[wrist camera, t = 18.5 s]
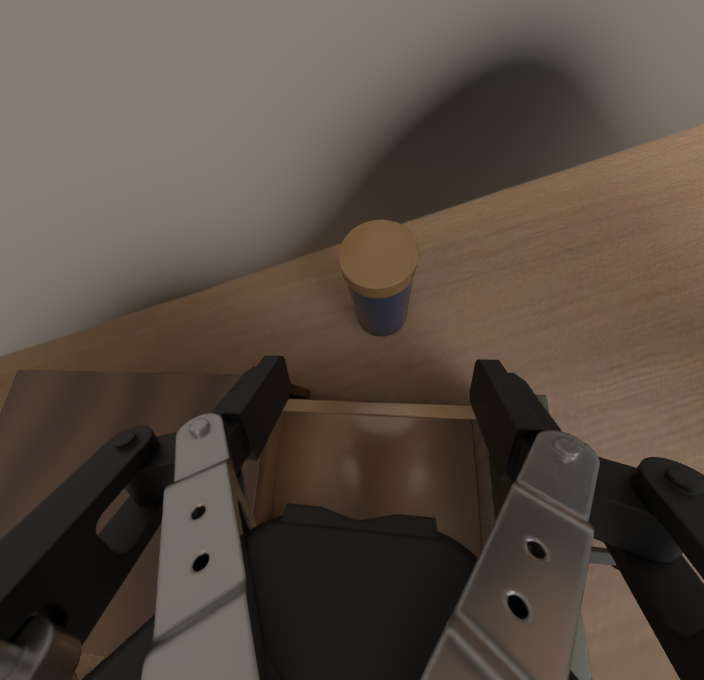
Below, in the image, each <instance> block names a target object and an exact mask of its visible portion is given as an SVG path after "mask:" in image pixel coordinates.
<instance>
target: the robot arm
mask: <svg viewBox="0 0 704 680" xmlns="http://www.w3.org/2000/svg"><path fill="white" fill-rule="evenodd" d="M290 391H291V385H290V380H289V375H288V371H287V366H286V362H285V358H284V357H283V356H265V357H264V358H263V359H262V360H261V361H260V363H259V364H258V365H257V366H256V367H252V368H251V369H249V370H248V371H246V372H245V373H243V374H242V376H241V377H240V378H239V379H238V381H237V383H235V384H234V385H233V387H232V388H231V390H229V391H228V393H227V394H226V395H225V396H224V397H223V399H222V400H221V401H220V402H219V403H218V405H217V406H216V407H215V408H214V410H213V411H212V412H211V413H207V414H202V415H199V416H197V417H194V418H193V419H191V420H189V421H188V422H186V423H185V424H184V425H183V426H182V427H181V428H180V429H179V431H178V432H174V433H169V434H164V435H159V436H156V435H155V434H154V432H153V430H152V429H151V428H150V427H149V426H144V425H143V426H135V427H132V428H129V429H126V430H124V431H122V432H120V433H118V434H117V435H115V436H114V437H112V438H111V439H109V440H108V441H107V442H106V443H105V444H104V445H103V446H102V447H101V448H100V449H98V450H97V451H96V452H95V453H94V454H93V455H92V456H91V457H90V458H89V459H88V460H86V461H85V462H84V463H83V464H82V465H81V466H80V467H79V468H78V469H77V470H76V471H75V472H73V473H72V474H71V475H70V476H69V477H68V478H67V479H66V480H65V481H64V482H63V483H62V484H60V485H59V486H58V487H57V488H56V489H55V490H54V491H53V492H52V493H51V494H50V495H49V496H47V497H46V498H45V499H44V500H43V501H42V502H41V503H40V504H39V505H38V506H37V507H36V508H34V509H33V510H32V511H31V512H30V513H29V514H28V515H27V516H26V517H25V518H24V519H23V520H21V521H20V522H19V523H18V524H17V525H16V526H15V527H14V528H13V529H12V530H11V531H10V532H8V533H7V534H6V535H5V536H4V537H3V538H2V539H1V540H0V680H77V675H76V673H75V671H76V668H77V666H78V663H79V660H80V656H81V647H82V645H83V644H84V642H85V641H86V639H87V638H88V636H89V635H90V633H91V632H92V630H93V628H94V627H95V625H96V624H97V622H98V621H99V619H100V618H101V616H102V614H103V613H104V611H105V610H106V608H107V607H108V605H109V604H110V602H111V601H112V599H113V597H114V596H115V594H116V593H117V591H118V590H119V588H120V587H121V585H122V584H123V582H124V580H125V579H126V577H127V576H128V574H129V573H130V571H131V570H132V568H133V567H134V565H135V563H136V562H137V560H138V559H139V557H140V556H141V554H142V553H143V551H144V549H145V548H146V546H147V545H148V543H149V542H150V540H151V539H152V537H153V536H154V534H155V532H156V531H157V529H158V528H159V526H160V525H161V523H162V528H161V542H160V556H159V570H158V584H157V598H156V612H155V614H154V615H153V616H152V617H151V618H150V619H149V620H148V621H147V622H145V623H144V624H143V625H142V626H141V627H140V628H139V629H138V630H137V631H135V632H134V633H133V634H132V635H131V636H130V637H129V638H128V639H126V640H125V641H124V642H123V643H122V644H121V645H120V646H119V647H118V648H116V649H115V650H114V651H113V652H112V653H111V654H110V655H109V656H108V657H106V658H105V659H104V660H103V661H102V662H101V663H100V664H99V665H97V666H96V667H95V668H94V669H93V670H92V671H91V672H90V673H89V674H87V675H86V676H85V677H84V678H83V679H82V680H579V679H578V678H577V677H576V675H575V674H574V673H573V672H572V670H571V669H570V668H571V662H572V656H573V651H574V645H575V639H576V633H577V628H578V622H579V616H580V611H581V605H582V599H583V593H584V588H585V582H586V576H587V571H588V565H589V559H590V553H591V548H592V542H593V538H594V539H597V540H599V541H602V542H604V544H605V545H606V547H607V549H608V551H609V553H610V554H611V556H612V558H613V560H614V561H615V563H616V565H617V567H618V569H619V570H620V572H621V574H622V576H623V578H624V579H625V581H626V583H627V585H628V587H629V588H630V590H631V592H632V594H633V596H634V597H635V599H636V601H637V603H638V605H639V606H640V608H641V610H642V612H643V613H644V615H645V617H646V619H647V621H648V622H649V624H650V626H651V628H652V630H653V631H654V633H655V635H656V637H657V639H658V640H659V642H660V644H661V646H662V648H663V649H664V651H665V653H666V655H667V657H668V658H669V660H670V662H671V664H672V665H673V667H674V669H675V671H676V673H677V674H678V676H679V678H680V680H704V584H703V582H702V581H701V580H700V578H699V577H698V576H697V574H696V573H695V572H694V570H693V569H692V568H691V566H690V565H689V564H688V563H687V561H686V560H685V559H684V557H683V556H682V555H681V554H682V553H684V554H685V556H686V557H687V558H688V559H689V561H690V562H691V563H692V565H693V566H694V567H695V569H696V570H697V571H698V573H699V574H700V575H701V576H702V578H703V579H704V475H703V474H701V473H699V472H698V471H696V470H694V469H692V468H690V467H688V466H686V465H683V464H681V463H678V462H676V461H673V460H669V459H665V458H659V457H649V458H646V459H644V460H642V462H641V463H640V464H639V466H638V467H637V468H635V467H632V466H628V465H624V464H621V463H617V462H614V461H610V460H607V459H603V458H600V457H598V456H597V454H596V453H595V452H594V450H593V449H592V448H591V447H590V446H589V445H587V444H586V443H585V442H583V441H582V440H580V439H579V438H577V437H575V436H573V435H570V434H568V433H565V432H562V431H561V429H560V428H559V427H558V425H557V424H556V423H555V421H554V420H553V418H552V417H551V416H550V414H549V413H548V411H547V410H546V409H545V407H544V406H543V405H542V403H541V402H539V399H538V398H537V396H536V395H535V394H534V393H533V391H532V389H531V388H530V387H529V385H528V384H527V383H526V381H524V380H523V379H522V378H520V377H519V376H517V375H516V374H515V373H507V371H506V370H505V368H504V367H503V365H502V364H501V362H500V361H499V360H480V359H478V360H477V361H476V362H475V366H474V372H473V377H472V382H471V388H470V403H471V407H472V409H473V412H474V415H475V417H476V420H477V422H478V425H479V428H480V430H481V433H482V435H483V438H484V441H485V443H486V446H487V449H488V451H489V454H490V456H491V459H492V462H493V464H494V467H495V469H496V472H497V475H498V477H499V480H500V481H513V485H512V487H511V489H510V491H509V493H508V495H507V498H506V500H505V502H504V504H503V506H502V508H501V510H500V513H499V515H498V517H497V519H496V521H495V523H494V525H493V528H492V530H491V532H490V534H489V536H488V538H487V540H486V543H485V545H484V547H483V549H482V551H481V553H480V555H479V558H477V557H476V556H475V555H474V554H473V553H472V552H471V551H470V550H468V549H467V548H466V547H465V546H464V545H462V544H461V543H459V542H458V541H456V540H455V539H453V538H451V537H449V536H447V535H446V534H444V533H441V532H439V531H437V525H436V518H433V517H423V516H413V515H403V514H393V515H388V516H382V517H377V518H371V519H366V520H359V521H358V520H353V519H351V518H348V517H346V516H344V515H341V514H339V513H336V512H334V511H331V510H329V509H326V508H324V507H321V506H312V505H302V504H292V503H287V505H286V508H285V511H284V514H283V516H278V517H275V518H272V519H269V520H267V521H265V522H263V523H261V524H259V525H256V522H255V519H254V516H253V512H252V508H251V503H250V499H249V494H248V490H247V486H246V481H245V477H244V472H243V469H242V466H243V464H244V462H245V460H251V461H258V459H259V457H260V455H261V453H262V451H263V449H264V447H265V445H266V443H267V441H268V439H269V437H270V435H271V433H272V431H273V429H274V427H275V425H276V423H277V421H278V419H279V417H280V415H281V413H282V411H283V409H284V407H285V405H286V403H287V401H288V399H289V396H290ZM124 488H125V490H126V491H127V492H128V494H129V495H130V496H129V497H128V499H127V500H126V501H125V502H124V503H123V505H122V506H121V507H120V508H119V510H118V511H117V512H116V513H115V515H114V516H113V517H112V518H111V519H110V521H109V522H108V523H107V524H106V526H105V527H104V528H103V529H102V531H101V532H100V533H99V534H98V535H97V534H96V525H97V522H98V520H99V518H100V517H101V515H102V514H103V512H104V511H105V510H106V509H107V508H108V507H109V505H110V504H111V503H112V502H113V501H114V500H115V498H116V497H117V496H118V495H119V494H120V493H121V491H122V490H123V489H124Z"/></svg>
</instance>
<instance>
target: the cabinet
mask: <svg viewBox="0 0 704 680" xmlns="http://www.w3.org/2000/svg"><path fill="white" fill-rule="evenodd" d="M241 376H242V375H214V374H171V373H129V372H87V371H45V370H18V371H17V374H16V376H15V378H14V381H13V383H12V386H11V388H10V391H9V393H8V396H7V398H6V401H5V403H4V406H3V408H2V411H1V413H0V540H1V539H2V538H3V537H4V536H5V535H6V534H7V533H8V532H10V531H11V530H12V529H13V528H14V527H15V526H16V525H17V524H18V523H19V522H20V521H21V520H23V519H24V518H25V517H26V516H27V515H28V514H29V513H30V512H31V511H32V510H33V509H34V508H36V507H37V506H38V505H39V504H40V503H41V502H42V501H43V500H44V499H45V498H46V497H47V496H49V495H50V494H51V493H52V492H53V491H54V490H55V489H56V488H57V487H58V486H59V485H60V484H62V483H63V482H64V481H65V480H66V479H67V478H68V477H69V476H70V475H71V474H72V473H73V472H75V471H76V470H77V469H78V468H79V467H80V466H81V465H82V464H83V463H84V462H85V461H86V460H88V459H89V458H90V457H91V456H92V455H93V454H94V453H95V452H96V451H97V450H98V449H100V448H101V447H102V446H103V445H104V444H105V443H106V442H107V441H108V440H109V439H111V438H112V437H114V436H115V435H117V434H118V433H120V432H122V431H124V430H126V429H129V428H132V427H135V426H143V425H144V426H149V427H150V428H151V429H152V430H153V432H154V434H155V435H156V436H159V435H164V434H169V433H174V432H178V431H179V429H180V428H181V427H182V426H183V425H184V424H185V423H186V422H188V421H189V420H191V419H193V418H194V417H197V416H199V415H202V414H207V413H211V412H212V411H213V410H214V408H215V407H216V406H217V405H218V403H219V402H220V401H221V400H222V399H223V397H224V396H225V395H226V394H227V393H228V391H229V390H231V388H232V387H233V385H234V384H235V383H237V381H238V379H239V378H240V377H241ZM290 385H291V391H290V396H289V399H309V393H310V390H308V389H305V388H302V387H300V386H297V385H294V384H291V383H290ZM267 444H268V441H267V443H266V445H265V447H264V449H263V451H262V453H261V455H260V457H259V459H258V461H251V460H245V462H244V464H243V466H242V469H243V472H244V477H245V481H246V486H247V490H248V494H249V499H250V503H251V508H252V512H253V516H254V519H255V522H256V525H257V524H258V516H259V508H260V500H261V492H262V484H263V476H264V468H265V460H266V452H267ZM129 496H130V495H129V494H128V492H127V491H126V490H125V488H124V489H123V490H122V491H121V493H120V494H119V495H118V496H117V497H116V498H115V500H114V501H113V502H112V503H111V504H110V505H109V507H108V508H107V509H106V510H105V511H104V512H103V514H102V515H101V517H100V518H99V520H98V522H97V525H96V534H97V535H98V534H99V533H100V532H101V531H102V529H103V528H104V527H105V526H106V524H107V523H108V522H109V521H110V519H111V518H112V517H113V516H114V515H115V513H116V512H117V511H118V510H119V508H120V507H121V506H122V505H123V503H124V502H125V501H126V500H127V499H128V497H129ZM161 528H162V523H161V525H160V526H159V528H158V529H157V531H156V532H155V534H154V536H153V537H152V539H151V540H150V542H149V543H148V545H147V546H146V548H145V549H144V551H143V553H142V554H141V556H140V557H139V559H138V560H137V562H136V563H135V565H134V567H133V568H132V570H131V571H130V573H129V574H128V576H127V577H126V579H125V580H124V582H123V584H122V585H121V587H120V588H119V590H118V591H117V593H116V594H115V596H114V597H113V599H112V601H111V602H110V604H109V605H108V607H107V608H106V610H105V611H104V613H103V614H102V616H101V618H100V619H99V621H98V622H97V624H96V625H95V627H94V628H93V630H92V632H91V633H90V635H89V636H88V638H87V639H86V641H85V642H84V644H83V645H82V647H81V653H84V654H89V655H94V656H99V657H104V658H106V657H108V656H109V655H110V654H111V653H112V652H113V651H114V650H115V649H116V648H118V647H119V646H120V645H121V644H122V643H123V642H124V641H125V640H126V639H128V638H129V637H130V636H131V635H132V634H133V633H134V632H135V631H137V630H138V629H139V628H140V627H141V626H142V625H143V624H144V623H145V622H147V621H148V620H149V619H150V618H151V617H152V616H153V615H154V614H155V612H156V598H157V584H158V570H159V556H160V542H161Z"/></svg>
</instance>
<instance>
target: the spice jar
mask: <svg viewBox="0 0 704 680" xmlns="http://www.w3.org/2000/svg"><path fill="white" fill-rule="evenodd" d="M418 256H419V248H418V244H417V241H416V239H415V237H414V236H413V234H412V233H411V232H410V231H409V230H408V229H407V228H406V227H404V226H403V225H401V224H399V223H396V222H393V221H388V220H374V221H369V222H366V223H363V224H361V225H359V226H357V227H356V228H354V229H353V230H352V231H351V232H349V234H348V235H347V236H346V237H345V239H344V240H343V242H342V244H341V247H340V250H339V264H340V267H341V270H342V274H343V277H344V279H345V281H346V283H347V285H348V288H349V291H350V294H351V298H352V301H353V304H354V307H355V311H356V314H357V317H358V320H359V323H360V325H361V326H362V328H363V329H364V330H365V331H366V332H368V333H370V334H372V335H375V336H388V335H391V334H394V333H395V332H397V331H398V330H399V329H400V328H401V327H402V326H403V324H404V323H405V320H406V317H407V311H408V305H409V299H410V293H411V288H412V282H413V277H414V275H415V272H416V268H417V262H418Z"/></svg>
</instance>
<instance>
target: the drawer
mask: <svg viewBox="0 0 704 680" xmlns="http://www.w3.org/2000/svg"><path fill="white" fill-rule="evenodd" d="M536 396H537V398H538V399H539V402H541V403H542V405H543V406H544V407H545V409H546V410H547V411H548V413H549V410H548V404H547V398H546V395H536ZM472 420H476V417H475V415H474V412H473V409H472V407H471V405H449V404H422V403H394V402H366V401H339V400H311V399H288V401H287V403H286V405H285V407H284V409H283V411H282V413H281V415H280V417H279V419H278V421H277V423H276V425H275V427H274V429H273V431H272V433H271V435H270V437H269V439H268V444H267V452H266V460H265V468H264V476H263V484H262V492H261V500H260V508H259V516H258V524H257V525H259V524H261V523H263V522H265V521H267V520H269V519H272V518H275V517H278V516H283V514H284V511H285V508H286V505H287V503H292V504H302V505H312V506H321V507H324V508H326V509H329V510H331V511H334V512H336V513H339V514H341V515H344V516H346V517H348V518H351V519H353V520H358V521H359V520H366V519H371V518H377V517H382V516H388V515H393V514H403V515H413V516H423V517H433V518H436V525H437V531H439V532H441V533H444V534H446V535H447V536H449V537H451V538H453V539H455V540H456V541H458V542H459V543H461V544H462V545H464V546H465V547H466V548H467V549H468V550H470V551H471V552H472V553H473V554H474V555H475V556H476V557H477V558H479V555H480V553H481V551H482V549H483V548H482V536H481V524H480V511H479V499H478V487H477V475H476V462H475V450H474V438H473V426H472ZM488 453H489V451H488ZM489 463H490V474H491V484H492V494H493V505H494V515H495V521H496V519H497V517H498V515H499V513H500V510H501V508H502V506H503V504H504V502H505V500H506V498H507V495H508V493H509V491H510V489H511V487H512V485H513V481H500V480H499V477H498V475H497V472H496V469H495V467H494V464H493V462H492V459H491V456H490V454H489ZM589 563H597V564H606V565H611V566H613V567H614V568H616V569H618V567H617V565H616V563H615V561H614V560H613V558H612V556H611V554H610V553H609V551H608V549H606V548H599V547H592V548H591V553H590V559H589ZM618 570H619V569H618ZM570 669H571V670H572V672H573V673H574V674H575V675H576V677H577V678H578V679H579V680H592V676H591V670H590V664H589V658H588V652H587V645H586V639H585V633H584V627H583V621H582V614H581V611H580V616H579V622H578V628H577V633H576V639H575V645H574V651H573V656H572V662H571V668H570Z"/></svg>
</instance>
